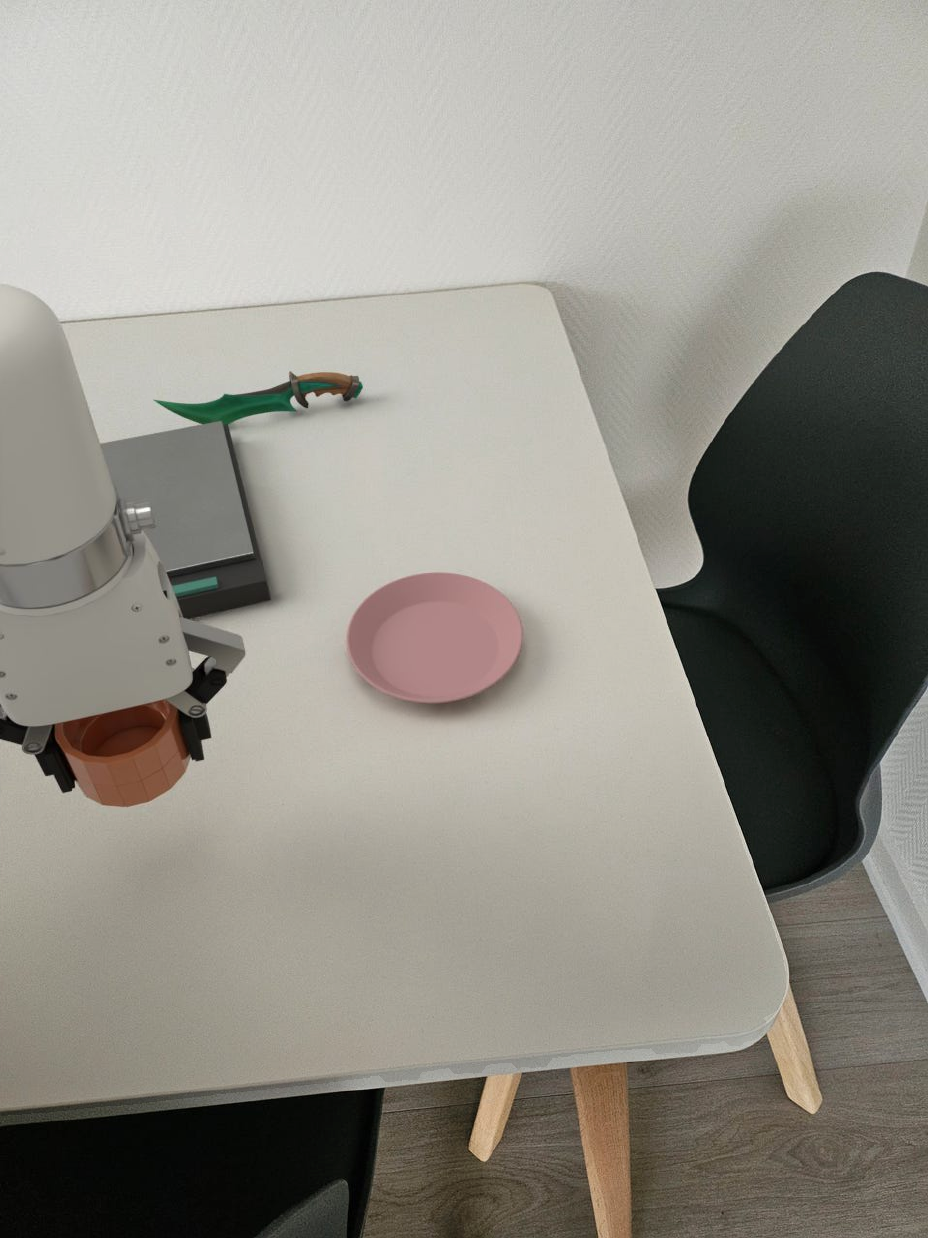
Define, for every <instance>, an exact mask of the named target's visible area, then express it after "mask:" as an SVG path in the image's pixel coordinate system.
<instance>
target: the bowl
mask: <svg viewBox="0 0 928 1238" xmlns="http://www.w3.org/2000/svg"><path fill="white" fill-rule="evenodd" d="M54 727H55V740H56V742H57V744H58V746H59V748H60V750H61V752H62V754H63V756H64V758H65V761H66V762H67V765H68V767H69V769H70V771H71V773H72V775H73V777H74V779H75V784H77V786H78V788H79V790H80V791H81V792H82V794H83V795H84V796H85V797H86V798H88V799H90V800H91V801H94V802H96V803H97V804H99V805H101V806H108V807H119V808H129V807H134V806H138V805H141V804H146V803H149V802H151V801H153V800H155V799H157V798H158V797H160V796H162V795H164V794H165V793H167V792H169V791H170V790H171V789H173V788H174V787H175V785H177V783H178V782H179V780H181V778H182V777H183V776H184V775H185V774H186V772H187V769H188V767H189V764H190V761H191V756H190V753H189V749H188V746H187V743H186V740H185V737H184V734H183V731H182V728H181V724H180V719H179V710H178V709H177V708H176V707H174V706H173V705H172V704H170V703H169V702H167V701H166V700H164V699H163V700H159V701H155V702H151V703H147V704H142V705H138V706H134V707H130V708H125V709H121V710H116V711H112V712H108V713H103V714H98V715H94V716H89V717H85V718H80V719H75V720H71V721H66V722H61V723H56V724H54Z"/></svg>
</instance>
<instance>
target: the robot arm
mask: <svg viewBox="0 0 928 1238" xmlns="http://www.w3.org/2000/svg"><path fill="white" fill-rule="evenodd" d="M83 388H84V387H83V384H82V382H81V379H80V376H79V373H78V370H77V366H76V363H75V360H74V357H73V354H72V351H71V348H70V345H69V341H68V339H67V336H66V333H65V330H64V328H63V325H62V323H61V321H60V320H59V318H58V316H57V314H56V313H55V311H53V309H52V308H51V307H50V306H49V304H47V303H46V302H45V301H43V299H41V298H40V297H39V296H37V295H36V294H34V293H32V292H30V291H28V290H27V289H23V288H20V287H17V286H14V285H10V284H6V283H5V284H4V283H0V740H1V741H6V742H9V743H12V744H16V745H19V746H21V751H22V752H23V753H24V754H26V755H31V756H32V755H33V756H34V757H35V759H36V761H37V763H38V765H39V767H40V769H41V771H42V773H43V774H44V776H45V777H51V776H53V777H54V779H55V782H56V783H57V785H58V787H59V789H60V791H61V793H62V794H65V793H69V792H72V791H73V789H76V781H75V779H74V777H73V775H72V773H71V771H70V769H69V767H68V765H67V762H66V761H65V758H64V756H63V754H62V752H61V750H60V748H59V746H58V744H57V742H56V740H55V727H54V724H56V723H61V722H66V721H71V720H75V719H80V718H85V717H89V716H94V715H98V714H103V713H108V712H112V711H116V710H121V709H125V708H130V707H134V706H138V705H142V704H147V703H151V702H155V701H159V700H163V699H164V700H166V701H167V702H169V703H170V704H172V705H173V706H174V707H176V708H177V709H178V710H179V719H180V724H181V728H182V731H183V734H184V737H185V740H186V743H187V746H188V749H189V753H190V756H191V758H190V760H191V761H195V762H196V763H197V762H201V761H204V760H205V755H204V748H203V743H202V742H203V741H204V740H209V739H212V732H211V726H210V721H209V718H208V714H207V712H208V707H207V705H208V703H209V702H210V701H211V700H212V699H213V698H214V697H216V695H217V694H219V692H220V691H221V690H222V689H223V688H224V687H225V686H226V685H227V683H228V679H227V678H228V677H229V675H230V674H233V672H234V671H236V668H237V667H238V666H239V665H240V663H242V661H243V660H244V658H245V657H246V649H245V644H244V639H243V637H242V635H240V634H238V633H234V632H231V631H228V630H224V629H222V628H218V627H214V626H211V625H209V624H205V623H202V622H199V621H195V620H193V619H190V618H188V619H186V618H183V616H182V613H181V610H180V607H179V604H178V602H177V599H176V596H175V593H174V591H173V588H172V586H171V583H170V581H169V578H168V576H167V573H166V571H165V569H164V567H163V565H162V562H161V560H160V558H159V556H158V554H157V553H156V551H155V549H154V547H153V545H152V543H151V542H150V540H149V539H148V537H147V536H146V534H145V533H144V531H143V530H148V529H153V528H156V524H155V519H154V514H153V510H152V506H151V503H150V502H147V503H141V504H136V505H135V503H134V502H131V503H126V501H125V499H124V498H119V495H118V492H117V489H116V485H113V483H112V480H111V477H110V474H109V470H108V467H107V464H106V461H105V458H104V455H103V451H102V448H101V445H100V444H101V442H100V438H99V436H98V433H97V430H96V425H95V422H94V420H93V417H92V414H91V411H90V407H89V404H88V401H87V399H86V394H85V391H84V389H83ZM190 652H192V653H196V654H198V655H202V656H205V658H204V659H203V660H202V661H201V662H200V663H199V664H198V666H196V667H195V668H194V667H193V666H192V660H191V655H190Z"/></svg>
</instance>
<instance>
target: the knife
mask: <svg viewBox="0 0 928 1238" xmlns="http://www.w3.org/2000/svg"><path fill="white" fill-rule="evenodd" d="M288 379H289V380H288V381H285V382H283V383H280V384H278V385H275V386H273V387H270V388H267V389H263V390H257V391H252V392H251V391H250V392H245V393H238V394H231V393H224V394H223V395H222V396H221V397H219V398H218V399H214V400H211V401H208V402H199V403H185V402H175V401H174V402H173V401H165V400H159V399H153V401H154V402H155V403H157V404H158V405H160V406H162V407H163V408H164V409H167V411H170V412H171V413H174V414H176V415H177V416H180V417H181V418H184V419H187V420H189V421H191V422H195V423H196V424H198V425H202V424H207V423H212V422H218V421H222V423H223V424H228V426H230V424H232V423H234V422H237V421H239V420H241V419H244V418H247V417H251V416H256V415H261V414H268V413H275V412H277V413H278V412H293V413H295V412H298V410H297V409H296V408H295V407H294V406H293V405H292V402H291V399H292V398H293V397H294V398H295V400H296V402H297V404H299V405H300V406H301V407H303V408H304V409H309V405H310V403H309V401H308V400H307V395H309V394H311V393H313V394H314V395H315V397H317V398H318V397H320V396H321V395H324V394H330V395H332V396H336V395H341V397H342V400H343V402H349V401H350V400H351V399H357V398H358V396H359V395H361V392H362V390H363V389H364V385H363V383H362V381H360V377H359V376H358V375H352V374H350V375H347V374H344V373H341V372H340V373H339V372H333V371H329V372H328V371H319V372H311V373H306V374H301V375H298V376H297V375H296V374H295V373H293V372H292V371H289V372H288Z"/></svg>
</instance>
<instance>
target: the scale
mask: <svg viewBox="0 0 928 1238" xmlns="http://www.w3.org/2000/svg"><path fill="white" fill-rule="evenodd" d="M100 445H101V448H102V451H103V455H104V458H105V461H106V464H107V467H108V470H109V474H110V477H111V480H112V483H113V485H116V489H117V492H118V495H119V498H124V499H125V501H126V503H131V502H134V503H135V505H136V504H141V503H147V502H150V503H151V506H152V510H153V514H154V519H155V524H156V528H153V529H148V530H143V531H144V533H145V534H146V536H147V537H148V539H149V540H150V542H151V543H152V545H153V547H154V549H155V551H156V553H157V554H158V556H159V558H160V560H161V562H162V565H163V567H164V569H165V571H166V573H167V576H168V578H169V581H170V583H171V586H172V588H173V591H174V593H175V596H176V599H177V602H178V604H179V607H180V610H181V613H182V616H183V618H186V619H193V618H196V617H201V616H204V615H210V614H215V613H219V612H223V611H227V610H231V609H237V608H241V607H245V606H249V605H254V604H259V603H263V602H268V601H271V599H272V598H271V593H270V589H269V585H268V580H267V575H266V573H265V568H264V564H263V560H262V556H261V552H260V548H259V544H258V539H257V536H256V532H255V529H254V528H255V527H254V525H253V520H252V515H251V511H250V507H249V503H248V499H247V496H246V491H245V487H244V482H243V479H242V475H241V471H240V467H239V462H238V459H237V454H236V450H235V446H234V442H233V439H232V435H231V430H230V425H228V424H223V423H222V421H218V422H212V423H207V424H197V425H191V426H186V427H182V428H176V429H175V428H174V429H170V430H165V431H160V432H154V433H150V434H145V435H138V436H134V437H127V438H122V439H118V440H112V441H107V442H102V443H101V442H100Z"/></svg>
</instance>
